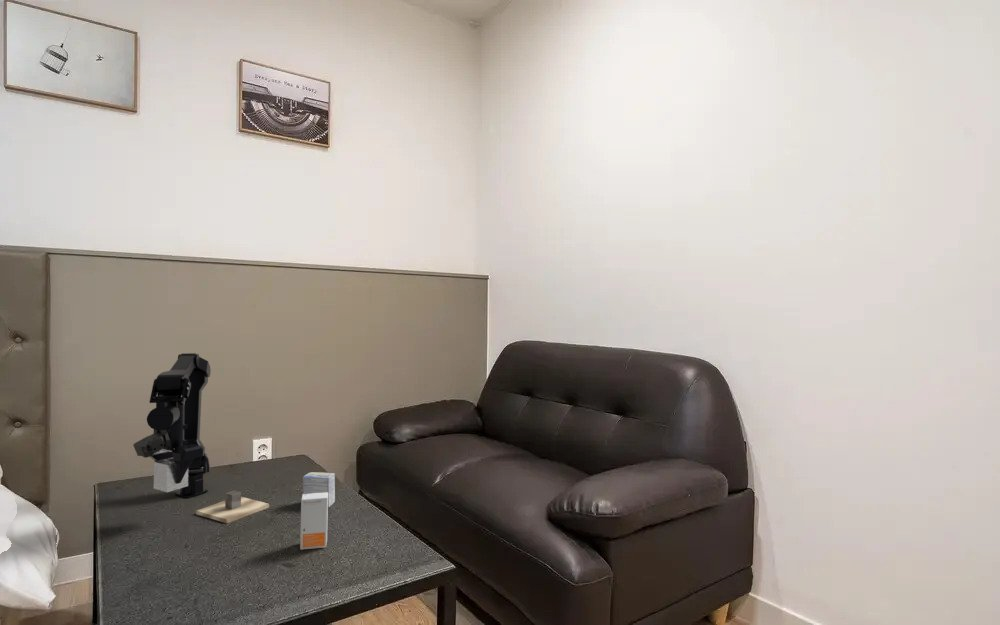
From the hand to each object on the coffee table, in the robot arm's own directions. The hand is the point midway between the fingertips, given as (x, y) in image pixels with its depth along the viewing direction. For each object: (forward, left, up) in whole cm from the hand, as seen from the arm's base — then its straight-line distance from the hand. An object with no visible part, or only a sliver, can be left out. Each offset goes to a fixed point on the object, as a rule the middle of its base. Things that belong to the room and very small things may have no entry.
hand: (171, 481), depth 142 cm
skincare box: (+43, +8, -11) cm, 45 cm away
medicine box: (+24, +28, -11) cm, 38 cm away
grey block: (0, 0, -2) cm, 2 cm away
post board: (+7, +13, -11) cm, 18 cm away
